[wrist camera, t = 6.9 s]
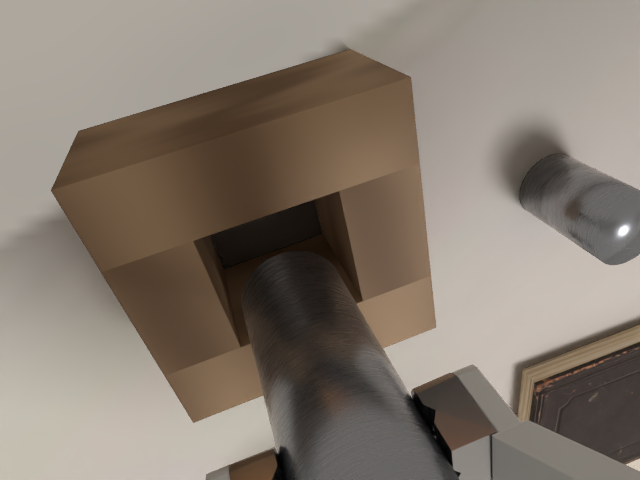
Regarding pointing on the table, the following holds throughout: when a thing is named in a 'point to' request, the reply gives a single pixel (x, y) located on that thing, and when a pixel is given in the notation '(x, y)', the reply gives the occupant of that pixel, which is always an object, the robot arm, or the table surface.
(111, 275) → the hole block
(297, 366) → the long pin
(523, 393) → the hardcover book
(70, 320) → the table surface
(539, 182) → the short pin
